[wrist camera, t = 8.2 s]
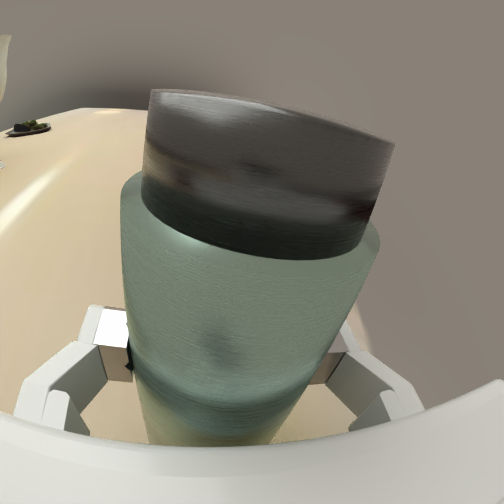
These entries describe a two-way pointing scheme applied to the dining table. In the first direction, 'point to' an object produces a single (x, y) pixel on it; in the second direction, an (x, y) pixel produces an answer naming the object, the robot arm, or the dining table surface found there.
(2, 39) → the vase
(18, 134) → the salad plate
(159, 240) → the flask
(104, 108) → the dining table surface
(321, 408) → the dining table surface
